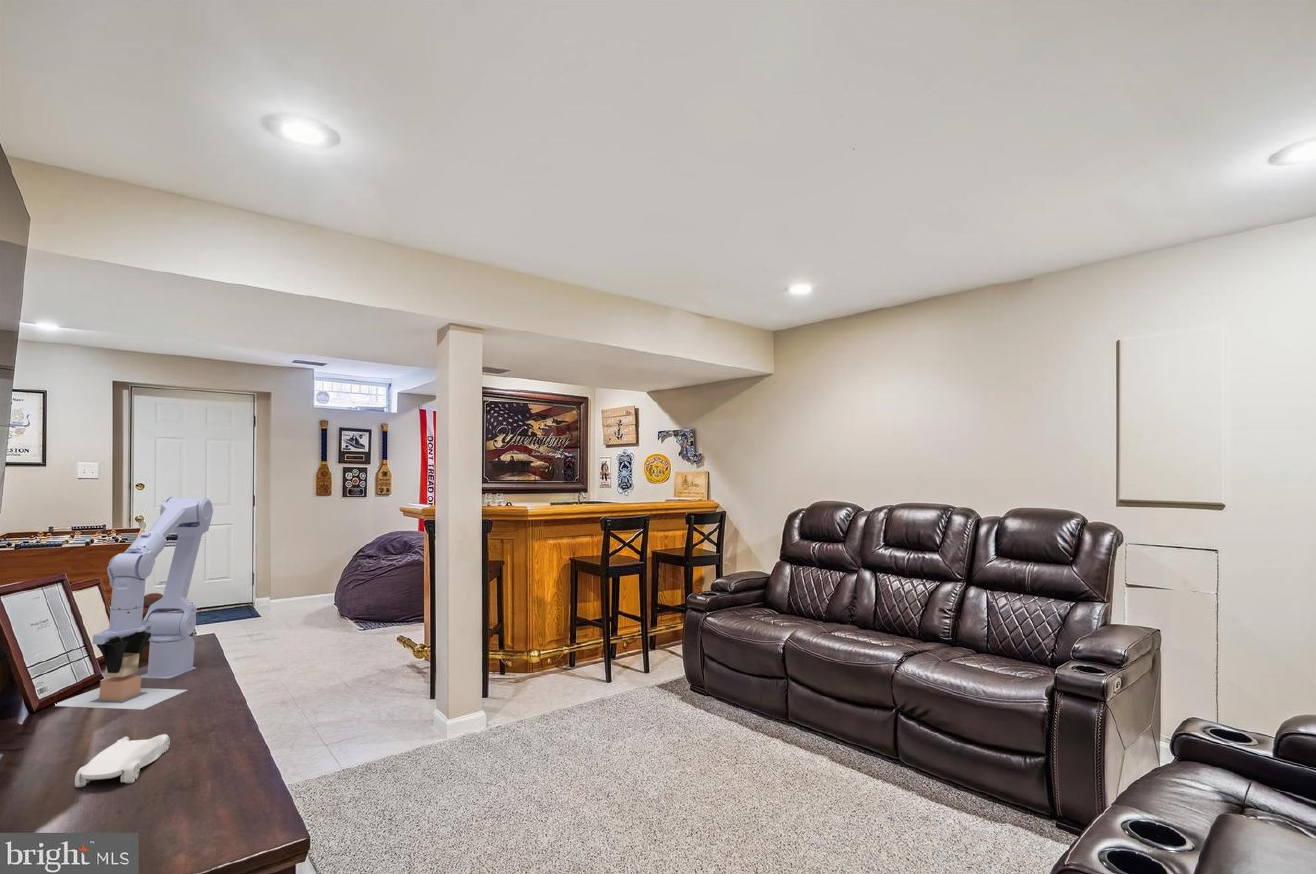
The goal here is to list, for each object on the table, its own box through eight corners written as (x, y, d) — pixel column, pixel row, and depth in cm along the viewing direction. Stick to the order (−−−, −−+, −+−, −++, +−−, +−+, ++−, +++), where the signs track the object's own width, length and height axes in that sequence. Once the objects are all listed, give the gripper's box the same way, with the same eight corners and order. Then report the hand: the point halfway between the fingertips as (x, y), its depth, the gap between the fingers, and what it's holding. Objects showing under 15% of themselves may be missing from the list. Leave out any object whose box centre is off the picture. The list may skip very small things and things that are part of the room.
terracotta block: (118, 692, 149) (119, 674, 149) (140, 693, 149) (141, 675, 149) (99, 700, 144) (100, 681, 144) (121, 701, 144) (123, 682, 144)
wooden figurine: (163, 666, 172) (169, 596, 173) (132, 669, 168) (138, 597, 169) (164, 655, 181) (169, 589, 182) (134, 658, 177) (140, 590, 179)
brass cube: (120, 671, 149) (121, 652, 149) (137, 671, 149) (139, 653, 149) (105, 676, 145) (106, 657, 145) (123, 676, 145) (124, 658, 145)
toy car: (122, 751, 121) (124, 726, 121) (172, 748, 123) (174, 723, 124) (65, 797, 104) (68, 768, 104) (124, 792, 106) (126, 763, 106)
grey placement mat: (102, 688, 153) (102, 686, 153) (187, 692, 153) (187, 689, 153) (49, 708, 140) (50, 705, 140) (143, 711, 140) (143, 708, 140)
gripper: (118, 614, 140) (112, 680, 139) (169, 602, 155) (164, 661, 154) (85, 613, 140) (79, 678, 140) (139, 601, 155) (134, 660, 154)
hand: (121, 669), depth 147 cm, fingers closed on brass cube, 4 cm apart
